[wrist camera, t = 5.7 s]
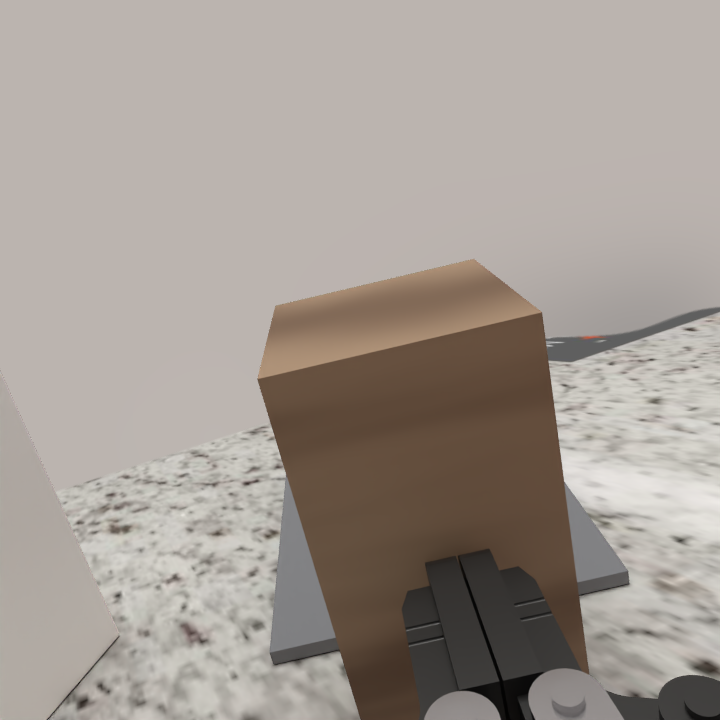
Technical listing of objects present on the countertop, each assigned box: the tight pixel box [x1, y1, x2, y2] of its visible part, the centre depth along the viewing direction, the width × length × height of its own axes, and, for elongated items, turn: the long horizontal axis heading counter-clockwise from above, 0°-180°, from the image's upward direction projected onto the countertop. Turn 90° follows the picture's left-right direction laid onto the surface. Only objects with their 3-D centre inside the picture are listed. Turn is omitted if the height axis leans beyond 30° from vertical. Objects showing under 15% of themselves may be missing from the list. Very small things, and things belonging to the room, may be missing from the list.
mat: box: [270, 475, 629, 664], centre depth 31 cm, size 14×14×1 cm
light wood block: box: [258, 259, 589, 720], centre depth 18 cm, size 6×6×14 cm
